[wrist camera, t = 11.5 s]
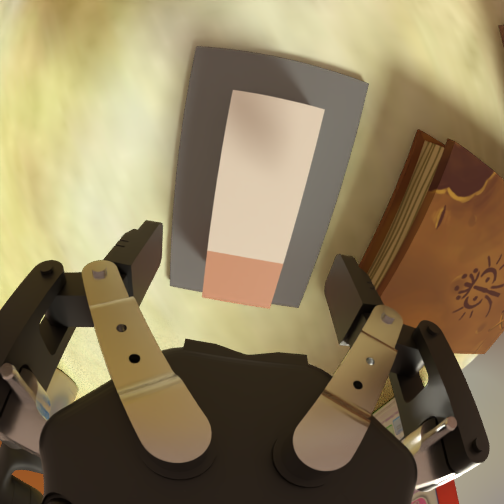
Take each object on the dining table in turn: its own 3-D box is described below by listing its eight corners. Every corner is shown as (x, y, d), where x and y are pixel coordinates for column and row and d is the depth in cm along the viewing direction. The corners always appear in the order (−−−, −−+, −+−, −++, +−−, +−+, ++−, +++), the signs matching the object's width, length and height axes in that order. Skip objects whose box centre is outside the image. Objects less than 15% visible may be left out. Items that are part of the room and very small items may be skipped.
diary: (332, 307, 27) (343, 350, 22) (413, 128, 18) (454, 141, 13) (464, 329, 29) (481, 359, 24) (532, 217, 20) (560, 239, 15)
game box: (355, 437, 46) (368, 545, 22) (334, 437, 45) (345, 551, 21) (426, 386, 36) (463, 520, 12) (407, 384, 35) (443, 533, 11)
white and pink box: (238, 92, 16) (232, 89, 13) (311, 107, 17) (324, 109, 13) (210, 266, 23) (202, 297, 20) (268, 276, 24) (269, 308, 20)
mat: (171, 282, 25) (169, 285, 25) (198, 47, 15) (196, 46, 14) (297, 303, 26) (298, 307, 25) (365, 83, 16) (368, 83, 15)
